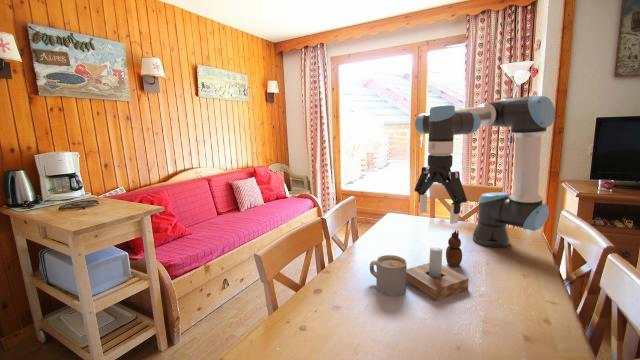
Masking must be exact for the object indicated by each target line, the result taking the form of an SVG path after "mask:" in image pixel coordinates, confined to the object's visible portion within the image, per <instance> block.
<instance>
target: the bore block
mask: <svg viewBox="0 0 640 360" xmlns="http://www.w3.org/2000/svg"><path fill="white" fill-rule="evenodd" d="M406 284H408V285H409V286H411V287H413V289H416V290H417V291H419V292H420V293H422V294H423V295H425V296H426V297H428V298H429V299H430V300H432V301H434V302H437V301H440V300H442V299H445V298H448V297H451V296H453V295H456V294H459V293H461V292H465V291H467V290H469V278H468V277H467V276H465V275H462V274H461V273H459V272H458V271H457V272H456V271H455V270H453V269H451V268H449V267H447V266H445V265H443V264H442V267H441V277H440V278H437V279H434V278H432V277H431V276H429V262H427V263H424V264H419V265H417V266H413V267H410V268H407V269H406Z"/></svg>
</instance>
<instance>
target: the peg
mask: <svg viewBox="0 0 640 360" xmlns="http://www.w3.org/2000/svg"><path fill="white" fill-rule="evenodd" d="M428 259H429V262H428V263H429V276H431V277H432V278H434V279H437V278H440V277H441V267H442V265H443V248H441V247H437V246H432V247H430V249H429V258H428Z"/></svg>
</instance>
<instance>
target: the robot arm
mask: <svg viewBox="0 0 640 360" xmlns="http://www.w3.org/2000/svg"><path fill="white" fill-rule="evenodd" d="M554 106H555V105H554V104H553V102H552V100H551V99H550V98H549V97H548V96H546V95H531V96H522V97H507V98H501V99H498V100H493V101H488V102H484V103H481V104H479V105H478V106H474V107H473V106H472V107H465V108H458V109H456V106H455V105H454V104H453V105H452V104H442V105H441V104H440V105H433V106H431V107H430V108H429V112H425V113H420V114H418V115H417V117H416V118H415V119H414V120H415V121H414V127H415V130H416V131H417V133H419V134H423V135H427V134H428V141H427V142H428V146H427V152H428V155H427V166H424V167H423V166H422V167H421V171H420V172H421V173H420V175H419V178H418V179H417V182H416V185H415V187H414V192H417V194H418V203H419V205H418V206H419V208H418V210H419V211H418V212H419V214H423V213H427V210H428V193H427V192H428V191H429V189H430V188H431V186H432V185H433V184H434V183H438V184H441V185H442V186H444V188H445V190H446V193H447V194H448V195H449V198H450V199H451V201H452V203H450V215H449V216H450V217H449V218H450V220H449V224H451V225H455V224H458V223H459V215H460V214H461V205H462V204H465V203H467V202H468V198H467V194H466V193H465V190H464V187H463V184H462V181H461V178H460V177H461V176H460V175H461V174H460V171H459V170H456V171H452V170H451V168H452V167H453V155H452V154H453V153H454V139H455V138H454V137H455V135H456V136H457V135H470V134H474V133H475V132H478V130H479V128H480V127H502V128H503V127H504V128H511V129H510V133H511V134H512V135H513V136H514V137H515V138H514V139H515V141H514V163H513V165H514V167H513V171H514V172H513V193H511V194H509V193H508V192H501V191H499V192H494V191H492V192H485V193H482V194H481V195H479V200H478V217H477V225H476V226H475V229H474V231H473V233H472V241H473V242H474V243H475V244H476V243H477V244H478V245H481V246H484V247H489V248H506V247H508V246H510V243H511V242H510V241H511V240H510V236H509V232H508V230H507V229H508V228H507V225H509V226H512V227H515V228H519V229H523V230H525V231H526V230H527V231H531V232H537V231H539V230H540V229H542V228H543V226H544V225H545V224H546V222H547V220H548V218H549V212H550V208H549V206H548V205H547V204H546V203H543V199H544V198H543V197H542V196H541V195H540V194H539V190H540V189H539V185H540V171H541V170H540V168H541V150H542V149H541V147H542V135H543V134H545V133H546V132H547V128H548V127H550V126H552V125H553V122H554V119H555V107H554Z"/></svg>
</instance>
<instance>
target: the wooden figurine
mask: <svg viewBox="0 0 640 360" xmlns="http://www.w3.org/2000/svg"><path fill="white" fill-rule="evenodd" d="M459 231H460V230H459V229H458V230H457V229H455V230H454V231H452V233H451V236H450V237H449V238H448V240H447V242H448V246H447V247H446V249H445V260H446V263H447V265H448V266H450V267H454V268H456V267H459V266H460V265H461V263H462V260H463V251H462V249H461V246H462V241H461V238H459Z"/></svg>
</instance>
